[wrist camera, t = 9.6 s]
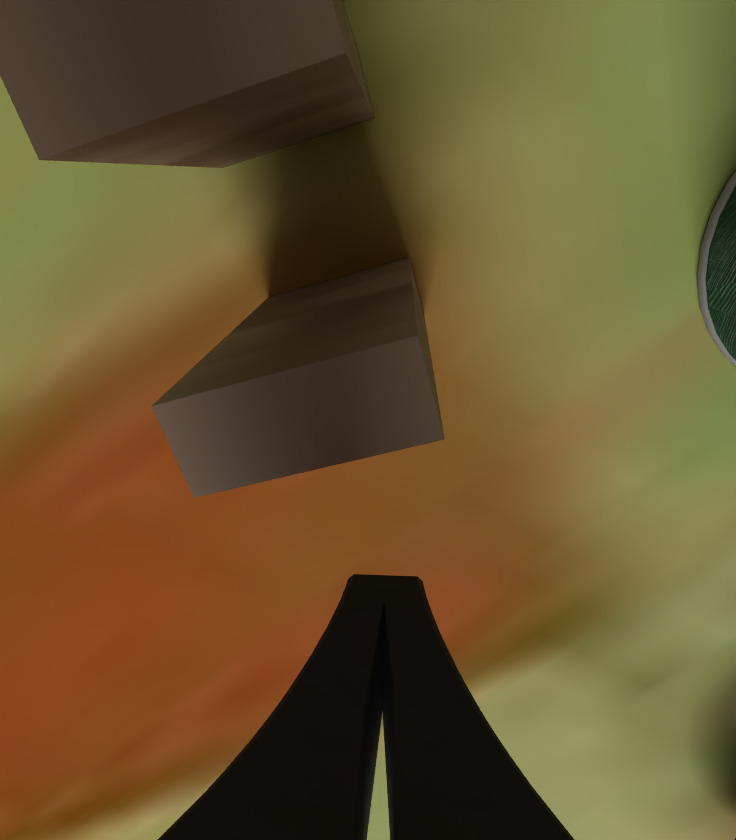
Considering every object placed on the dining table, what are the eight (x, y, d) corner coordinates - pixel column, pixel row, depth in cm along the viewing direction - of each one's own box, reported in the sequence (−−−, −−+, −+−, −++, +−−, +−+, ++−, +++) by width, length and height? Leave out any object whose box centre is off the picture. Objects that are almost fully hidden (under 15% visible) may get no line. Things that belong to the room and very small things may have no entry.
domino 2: (287, 351, 16) (193, 497, 9) (268, 297, 16) (151, 406, 8) (424, 315, 16) (444, 439, 8) (409, 257, 15) (418, 335, 8)
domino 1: (222, 168, 14) (39, 159, 7) (197, 98, 14) (-29, 12, 7) (374, 117, 14) (345, 53, 6) (355, 42, 13) (301, -122, 6)
